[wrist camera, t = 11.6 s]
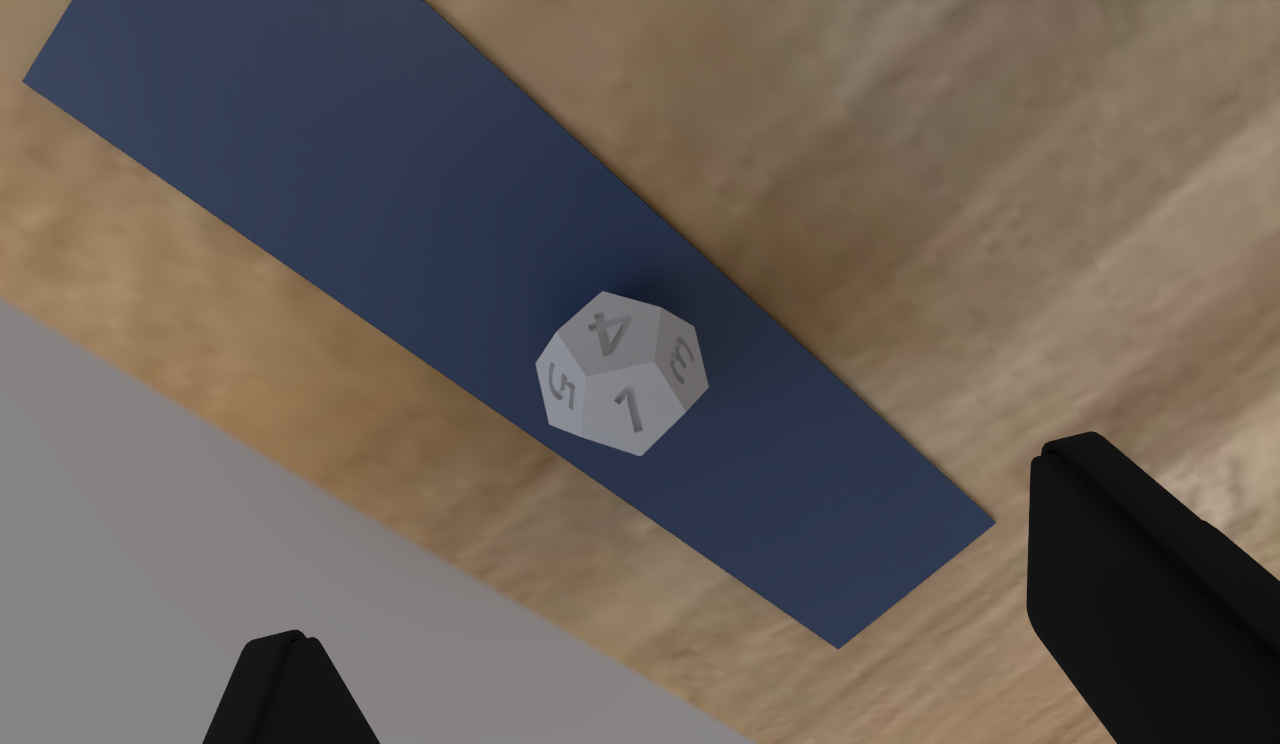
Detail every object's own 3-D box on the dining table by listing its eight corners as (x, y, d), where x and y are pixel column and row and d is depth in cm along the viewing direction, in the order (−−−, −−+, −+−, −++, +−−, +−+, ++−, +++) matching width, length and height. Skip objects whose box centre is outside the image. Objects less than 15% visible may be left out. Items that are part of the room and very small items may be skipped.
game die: (560, 429, 19) (565, 503, 16) (520, 290, 17) (518, 347, 15) (701, 396, 19) (728, 464, 17) (676, 254, 17) (701, 305, 15)
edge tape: (200, -204, 13) (197, -205, 13) (994, 520, 22) (996, 522, 22) (25, 80, 14) (21, 81, 14) (837, 647, 24) (838, 649, 24)
